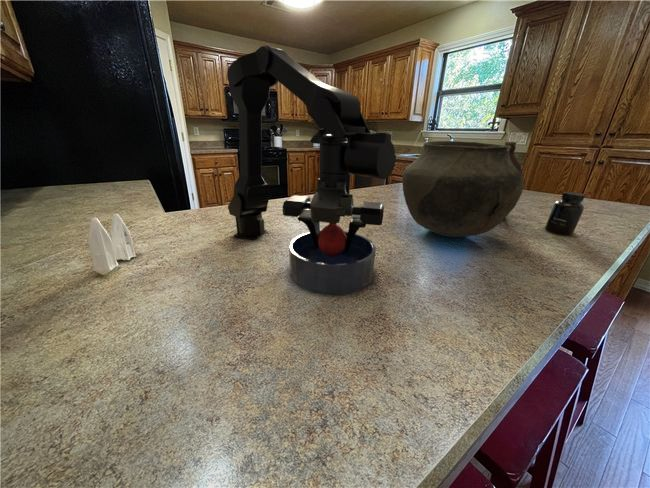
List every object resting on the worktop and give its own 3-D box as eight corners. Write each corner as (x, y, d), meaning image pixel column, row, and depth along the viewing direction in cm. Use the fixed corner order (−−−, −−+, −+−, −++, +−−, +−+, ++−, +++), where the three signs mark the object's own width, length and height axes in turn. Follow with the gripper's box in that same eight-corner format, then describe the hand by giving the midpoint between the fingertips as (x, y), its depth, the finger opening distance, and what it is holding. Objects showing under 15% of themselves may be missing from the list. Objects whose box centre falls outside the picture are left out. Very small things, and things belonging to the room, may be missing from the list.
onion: (343, 265, 52) (346, 226, 49) (314, 261, 53) (315, 223, 50) (347, 252, 57) (349, 217, 54) (321, 249, 58) (321, 214, 55)
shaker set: (112, 279, 51) (93, 225, 47) (87, 280, 51) (66, 225, 46) (141, 252, 62) (128, 206, 58) (121, 253, 61) (107, 206, 57)
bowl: (277, 286, 50) (275, 258, 48) (304, 249, 66) (304, 226, 63) (369, 301, 47) (372, 270, 44) (375, 258, 62) (377, 234, 60)
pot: (489, 267, 59) (525, 148, 49) (376, 228, 81) (386, 140, 71) (527, 237, 77) (559, 145, 67) (426, 212, 99) (439, 139, 89)
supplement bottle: (548, 233, 80) (563, 194, 75) (541, 226, 86) (555, 189, 81) (577, 237, 78) (594, 197, 73) (567, 230, 84) (583, 192, 79)
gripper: (268, 175, 43) (272, 261, 49) (386, 183, 39) (375, 276, 45) (291, 166, 53) (293, 239, 59) (388, 172, 49) (379, 249, 55)
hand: (331, 250), depth 54 cm, fingers closed on onion, 6 cm apart
